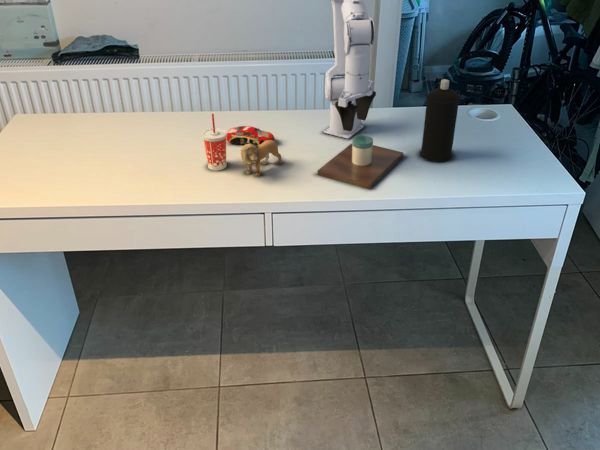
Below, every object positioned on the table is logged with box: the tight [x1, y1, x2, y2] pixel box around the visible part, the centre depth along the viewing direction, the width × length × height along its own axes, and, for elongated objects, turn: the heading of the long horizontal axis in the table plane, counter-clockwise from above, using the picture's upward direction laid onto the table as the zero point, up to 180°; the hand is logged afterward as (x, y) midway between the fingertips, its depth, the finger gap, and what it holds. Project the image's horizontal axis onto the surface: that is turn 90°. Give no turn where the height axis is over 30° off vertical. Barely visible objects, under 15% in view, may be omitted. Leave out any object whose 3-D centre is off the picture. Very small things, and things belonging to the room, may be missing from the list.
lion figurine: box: [240, 140, 282, 177], centre depth 151 cm, size 15×5×9 cm, turn 150°
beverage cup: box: [201, 113, 228, 171], centre depth 151 cm, size 6×6×14 cm
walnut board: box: [317, 143, 404, 190], centre depth 155 cm, size 20×14×1 cm
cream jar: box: [351, 134, 374, 166], centre depth 153 cm, size 5×5×6 cm
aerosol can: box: [419, 78, 461, 163], centre depth 154 cm, size 8×8×20 cm
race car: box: [226, 125, 276, 146], centre depth 166 cm, size 13×5×4 cm, turn 76°
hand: (354, 124), depth 153 cm, fingers open, 7 cm apart
